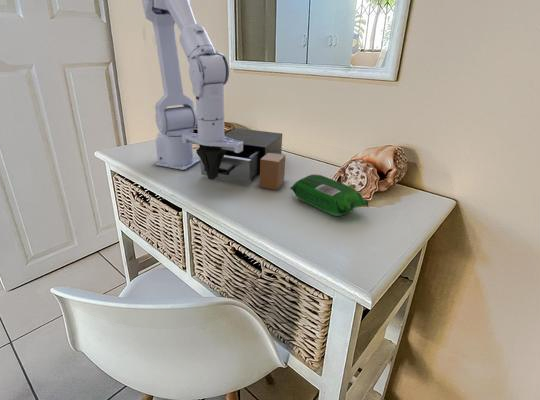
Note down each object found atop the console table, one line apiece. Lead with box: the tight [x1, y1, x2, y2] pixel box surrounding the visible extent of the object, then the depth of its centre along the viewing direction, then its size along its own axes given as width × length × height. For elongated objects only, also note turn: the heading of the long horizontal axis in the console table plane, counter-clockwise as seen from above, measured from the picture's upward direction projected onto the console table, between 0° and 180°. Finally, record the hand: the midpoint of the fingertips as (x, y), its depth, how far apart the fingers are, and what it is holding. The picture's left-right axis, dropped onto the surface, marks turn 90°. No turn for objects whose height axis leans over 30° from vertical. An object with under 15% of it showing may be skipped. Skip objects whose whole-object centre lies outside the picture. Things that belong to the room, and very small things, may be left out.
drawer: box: [199, 147, 263, 184], centre depth 83 cm, size 17×13×6 cm
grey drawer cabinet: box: [225, 127, 283, 175], centre depth 92 cm, size 13×14×7 cm
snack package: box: [290, 173, 370, 217], centre depth 69 cm, size 7×16×5 cm, turn 35°
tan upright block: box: [259, 153, 286, 191], centre depth 78 cm, size 4×5×7 cm
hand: (212, 177), depth 75 cm, fingers closed
